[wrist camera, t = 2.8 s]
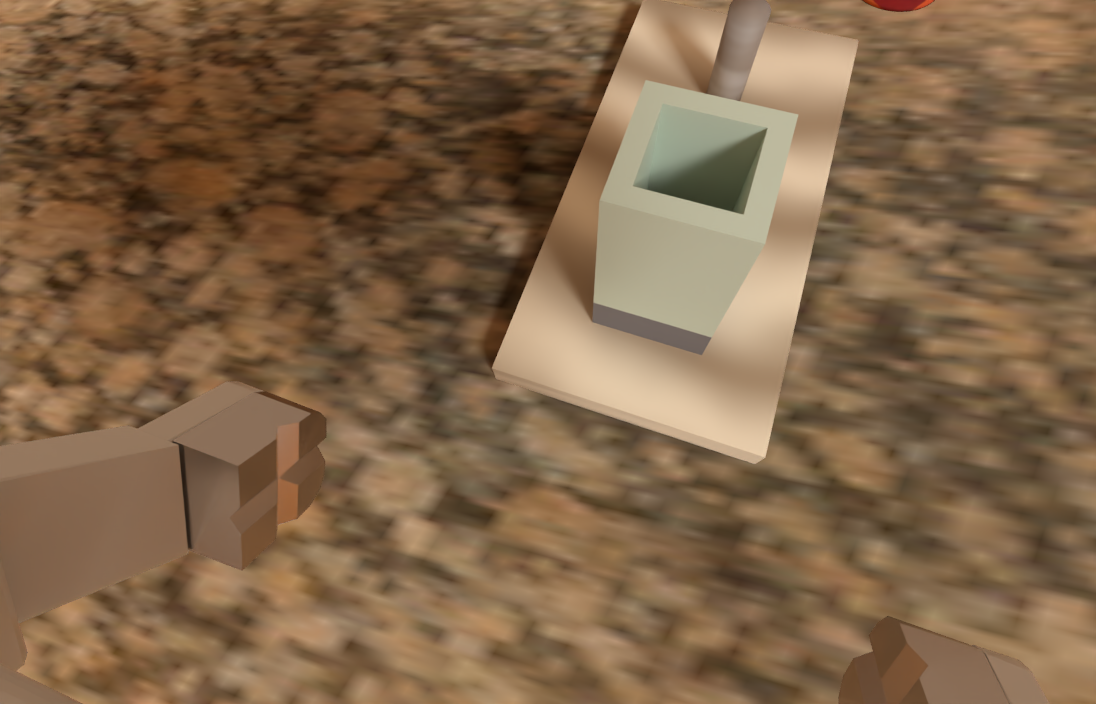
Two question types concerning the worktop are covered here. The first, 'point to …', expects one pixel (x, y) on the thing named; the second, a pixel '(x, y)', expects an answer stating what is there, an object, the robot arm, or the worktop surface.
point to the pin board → (771, 285)
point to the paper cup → (899, 4)
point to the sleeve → (686, 212)
